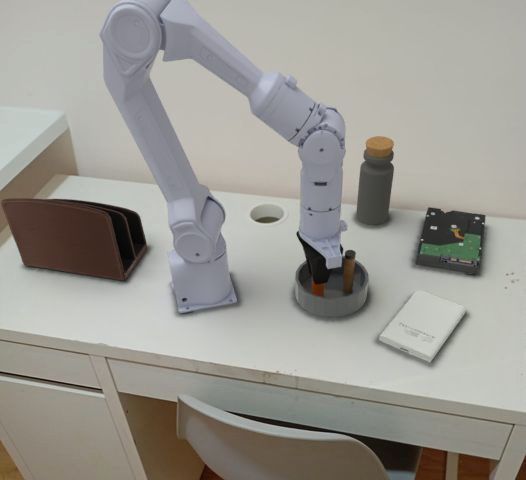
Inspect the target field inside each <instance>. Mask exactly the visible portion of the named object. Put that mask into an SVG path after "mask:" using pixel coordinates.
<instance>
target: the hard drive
mask: <svg viewBox="0 0 526 480" xmlns="http://www.w3.org/2000/svg"><path fill="white" fill-rule="evenodd" d="M466 311H467V307H466V306H463V305H461V304H459V303H456V302H454V301H451V300H448V299H446V298H443V297H440V296H437V295H436V294H432V293H430V292H428V291H425V290H422V289H416V290H415V291H414V293H413V294H412V295H411V296H410V298H409V299H408V300H407V302H406V303H405V304H404V305H403V306H402V308H401V309H400V310H399V311H398V312H397V314H396V315H395V316H394V317H393V318H392V320H391V321H390V322H389V323H388V325H387V326H386V327H385V328H384V330H383V331H382V333H380V334H379V338H378V340H379V341H380V342H382V343H384V344H387V345H389V346H392V347H393V348H395V349H398V350H400V351H402V352H404V353H406V354H409V355H412V356H413V357H416V358H418V359H421V360H422V361H425V362H428V363H432V361H433V359H434V358H435V357H436V355H437V354H438V352H439V351H440V349H441V348H442V347H443V345H444V344H445V343H446V341H447V340H448V338H449V337H450V335H451V334H452V333H453V331H454V330H455V328H456V327H457V325H458V324H460V323H459V322H461V320H462V318H464V316H465V313H466Z"/></svg>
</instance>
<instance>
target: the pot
mask: <svg viewBox="0 0 526 480" xmlns="http://www.w3.org/2000/svg"><path fill="white" fill-rule="evenodd" d="M344 261H345V255H342V264H341V267H337V268H333V269H332V271H331V274H330V277H329V280H328V282H327V283H324V297H321V296H316V295H314V294H312V275H310V273H309V270H308V267H307V262H306V260H305V261H303V262H302V263H301V264H300V265H299V266H298V267H297V269H296V270H295V277H294V295H295V296H294V297H295V299H296V301H297V303H298V305H299V306H300V307H301V308H302V309H303V310H305V311H306V312H307V313H309V314H312V315H313V316H317V317H321V318H327V319H328V318H329V319H337V318H343V317H347V316H350V315H352V314H354V313H356V312H358V311H359V310H360V309H361V308H362V307H363V306H364V305H365V303H366V301H367V299H368V291H369V290H368V288H369V281H370V279H369V272H368V270H367V269H366V267H365V266H364V265H363V264H362V263H361V262H360V261H358V260H357V259H355V266H354V277H353V289H352V292H351V293H344V292H343V291H342V289H343V275H344Z"/></svg>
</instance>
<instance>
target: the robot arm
mask: <svg viewBox="0 0 526 480" xmlns="http://www.w3.org/2000/svg"><path fill="white" fill-rule="evenodd" d="M98 33H99V34H98V36H99V38H100V40H101V43H102V69H103V70H102V71H103V72H102V73H103V74H102V75H103V76H102V77H103V81H104V84H105V86H106V88H107V90H108V92H109V95H110V96H111V99H112V101H113V102H114V105H115V106H116V108H117V110H118V112H119V113H120V115H121V118H122V120H123V121H124V123H125V125H126V127H127V129H128V131H129V133H130V134H131V136H132V138H133V140H134V143H135V144H136V146H137V148H138V150H139V151H140V154H141V155H142V157H143V159H144V162H146V165H147V167H148V169H149V172H151V175H152V177H153V178H154V181H155V183H156V184H157V186H158V188H159V190H160V192H161V194H162V197H163V198H164V199H165V202H166V205H167V206H166V207H167V223H168V228H169V230H170V232H171V234H172V237H173V238H172V245H173V249H172V250H170V251H167V252H166V253H167V259H168V264H169V270H170V275H171V280H172V282H171V283H170V285H171V291H172V294H173V295H175V299H176V300H175V301H176V305H177V310H178V313H179V314H184V313H190V312H194V311H198V310H205V309H210V308H215V307H221V306H226V305H232V304H237V302H238V299H237V294H236V292H235V289H234V285H233V282H232V278H231V275H230V268H229V260H228V259H229V258H228V251H227V242H226V239H225V238H224V236H223V234H222V228H223V225H224V224H225V222H226V217H227V215H226V214H227V213H226V210H225V208H224V206H223V204H222V202H221V201H219V199H217V198H216V197H215V196H214V195H213V194H212V192H211V191H210V188H209V187H208V185H205V184H202V183H200V182H199V179H198V177H197V175H196V173H195V171H194V169H193V167H192V164H191V163H190V161H189V159H188V157H187V154H186V152H185V150H184V148H183V146H182V142H181V141H180V139H179V137H178V135H177V133H176V131H175V127H174V126H173V124H172V122H171V120H170V118H169V115H168V113H167V111H166V109H165V107H164V105H163V102H162V100H161V98H160V96H159V94H158V92H157V89H156V88H155V85H154V84H153V81H152V79H151V76H150V74H151V72H152V70H153V67H154V64H155V61H156V58H157V56H158V54H159V52H160V51H164V52H163V55H162V62H163V63H165V62H166V63H167V62H175V61H182V60H193V61H194V62H195V63H197V64H198V65H200V66H201V67H203V68H204V69H206V70H207V71H208V72H210V73H212V74H213V75H215V76H216V77H217V78H219V79H220V80H222V81H223V82H224V83H226V84H227V85H229V86H231V87H232V88H233V89H235V90H236V91H238V92H239V93H240V94H242V95H243V96H245V97H246V98H247V100H248V105H249V108H250V113H251V114H252V115H253V116H255V118H257V119H259V121H260V122H262V123H264V124H265V125H266V126H267V127H269V128H270V129H271V130H273V131H274V132H275V133H276V134H278V135H279V136H281V137H282V138H283V139H284V140H286V141H287V142H288V143H290V144H291V145H293V146H295V147H297V154H298V157H299V160H300V161H301V169H300V172H299V173H300V176H299V178H300V179H299V181H300V185H299V187H300V188H299V189H300V190H299V191H300V192H299V194H300V195H299V199H300V200H299V201H300V202H299V224H298V230H297V231H296V233H295V235H296V237H297V239H298V241H299V243H300V244H301V246H302V250H303V253H304V257H305V261H306V262H307V267H308V270H309V273H310V275H312V278H313V281H314V284H315V285H317V284H323V283H327V282H328V280H329V277H330V274H331V271H332V269H333V268H337V267H341V264H342V255H343V254H344V247H343V245H342V243H341V237H342V236H341V235H342V233H343V232H346V231H348V224H347V222H346V221H345V220H344V219H341V213H342V199H343V197H342V196H343V181H344V170H343V165H344V158H345V156H346V152H347V150H346V122H345V119H344V117H343V115H342V114H341V113H340V112H339V111H338V109H337V108H336V107H334V106H332V105H325V103H324V102H322V101H320V102H319V103H318V102H317V101H316V100H314V99H313V98H311V97H310V96H309V95H308V94H307V93H306V92H305V91H304V90H302V89H301V88H300V87H299V86H298V85H297V83H298V79H296V78H295V77H294V76H293V75H291V74H290V73H289V74H287V75H286V76H284V74H282V73H281V72H280V71H269V72H267V71H266V72H263V71H262V70H261V69H260V68H259V67H258V66H257V65H256V64H255V63H253V61H251V60H250V59H249V58H248V57H247V56H246V55H245V54H243V53H242V52H241V51H240V50H239V49H238V48H237V47H236V46H234V44H232V43H231V42H230V41H229V40H228V39H227V38H225V36H224V35H222V34H221V33H220V32H219V31H218V30H217V29H216V28H214V27H213V26H212V25H211V24H210V23H209V22H208V21H207V20H206V19H204V18H203V17H202V16H201V15H200V14H199V12H198V11H197V10H196V9H195V8H194V7H193V6H192V5H191V4H190V2H189V1H188V0H119V1H118V2H116V3H115V4H114V5H112V6H111V8H110V9H108V12H107V14H106V17H105V19H104V21H103V23H102V26H101V28H100V32H98ZM343 256H344V255H343Z"/></svg>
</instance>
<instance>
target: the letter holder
mask: <svg viewBox="0 0 526 480" xmlns="http://www.w3.org/2000/svg"><path fill="white" fill-rule="evenodd" d="M0 205H1V208H2V211H3V213H4V215H5V218H6V221H7V224H8V227H9V230H10V233H11V235H12V238H13V240H14V242H15V245H16V248H17V250H18V253H19V256H20V258H21V261H22V263H23V265H24V266H25V267H33V268H40V269H46V270H52V271H53V270H54V271H58V272H59V271H60V272H66V273H72V274H78V275H83V276H84V275H85V276H89V277H90V276H91V277H97V278H103V279H109V280H115V281H121V282H126V280H127V278H128V277H129V276H130V274H131V273H132V271H133V270H134V268H135V267H136V265H137V264H138V262H139V261H140V260H141V258H142V257H143V255H144V254H145V252H146V251H147V249H148V243H147V239H146V235H145V231H144V226H143V223H142V218H141V216H140V214H139V213H138V212H137V211H135V210H132V209H129V208H126V207H122V206H118V205H112V204H108V203H102V202H96V201H89V200H80V199H71V198H30V197H29V198H28V197H27V198H26V197H25V198H24V197H23V198H21V197H19V198H17V197H16V198H15V197H14V198H12V197H11V198H4V199H2V200H1V203H0Z"/></svg>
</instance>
